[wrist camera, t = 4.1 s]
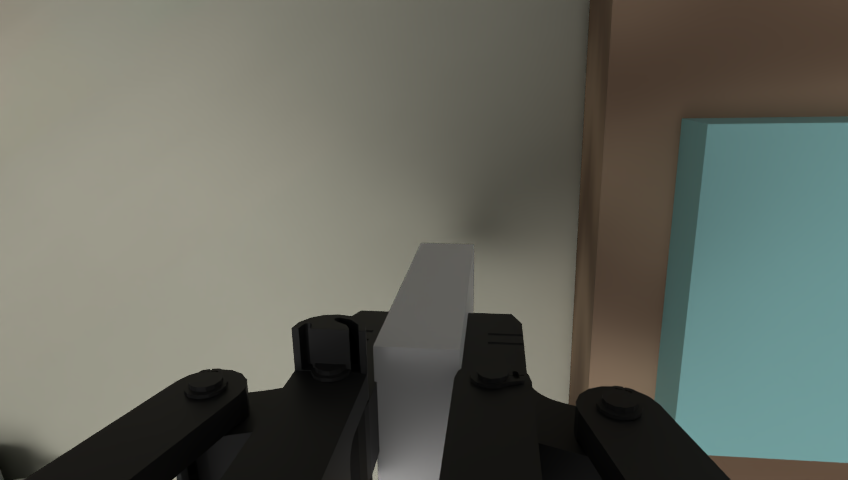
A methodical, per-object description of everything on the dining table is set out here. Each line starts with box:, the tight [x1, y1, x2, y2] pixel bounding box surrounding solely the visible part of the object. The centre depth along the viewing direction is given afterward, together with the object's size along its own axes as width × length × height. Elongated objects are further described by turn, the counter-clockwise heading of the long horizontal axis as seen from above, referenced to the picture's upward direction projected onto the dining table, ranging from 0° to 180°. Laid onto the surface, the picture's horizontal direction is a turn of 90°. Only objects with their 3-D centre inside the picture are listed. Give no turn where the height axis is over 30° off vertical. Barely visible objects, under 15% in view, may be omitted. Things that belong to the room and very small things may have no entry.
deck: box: [569, 0, 848, 480], centre depth 18 cm, size 22×14×4 cm, turn 1°
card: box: [654, 116, 848, 463], centre depth 15 cm, size 9×6×2 cm, turn 1°
